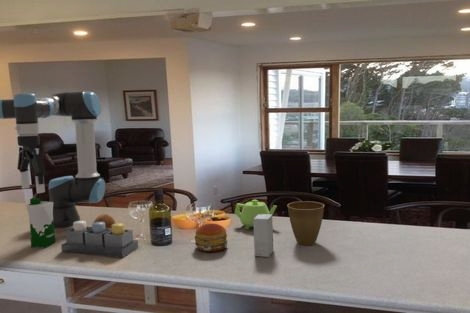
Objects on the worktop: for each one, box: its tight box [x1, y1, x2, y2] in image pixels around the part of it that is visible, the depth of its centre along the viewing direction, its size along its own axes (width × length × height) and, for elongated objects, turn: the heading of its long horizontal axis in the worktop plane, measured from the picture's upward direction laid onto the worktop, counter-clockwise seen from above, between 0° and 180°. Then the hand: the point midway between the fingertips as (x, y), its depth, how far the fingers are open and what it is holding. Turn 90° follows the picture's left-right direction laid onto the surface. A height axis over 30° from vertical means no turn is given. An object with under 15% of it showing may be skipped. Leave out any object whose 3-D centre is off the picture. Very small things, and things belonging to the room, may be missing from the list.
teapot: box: [234, 199, 278, 230], centre depth 206 cm, size 20×13×13 cm
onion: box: [93, 212, 116, 228], centre depth 198 cm, size 10×10×10 cm
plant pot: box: [287, 200, 325, 246], centre depth 181 cm, size 15×15×16 cm
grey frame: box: [61, 226, 139, 258], centre depth 179 cm, size 12×28×8 cm, turn 73°
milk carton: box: [25, 197, 57, 248], centre depth 187 cm, size 9×9×20 cm
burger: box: [193, 223, 228, 253], centre depth 178 cm, size 14×14×10 cm
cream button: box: [72, 220, 87, 232], centre depth 181 cm, size 5×5×5 cm
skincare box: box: [253, 214, 274, 258], centre depth 170 cm, size 8×6×15 cm
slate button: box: [91, 222, 105, 233], centre depth 179 cm, size 5×5×5 cm
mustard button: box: [112, 222, 126, 235], centre depth 176 cm, size 5×5×5 cm
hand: (33, 190), depth 168 cm, fingers open, 13 cm apart
